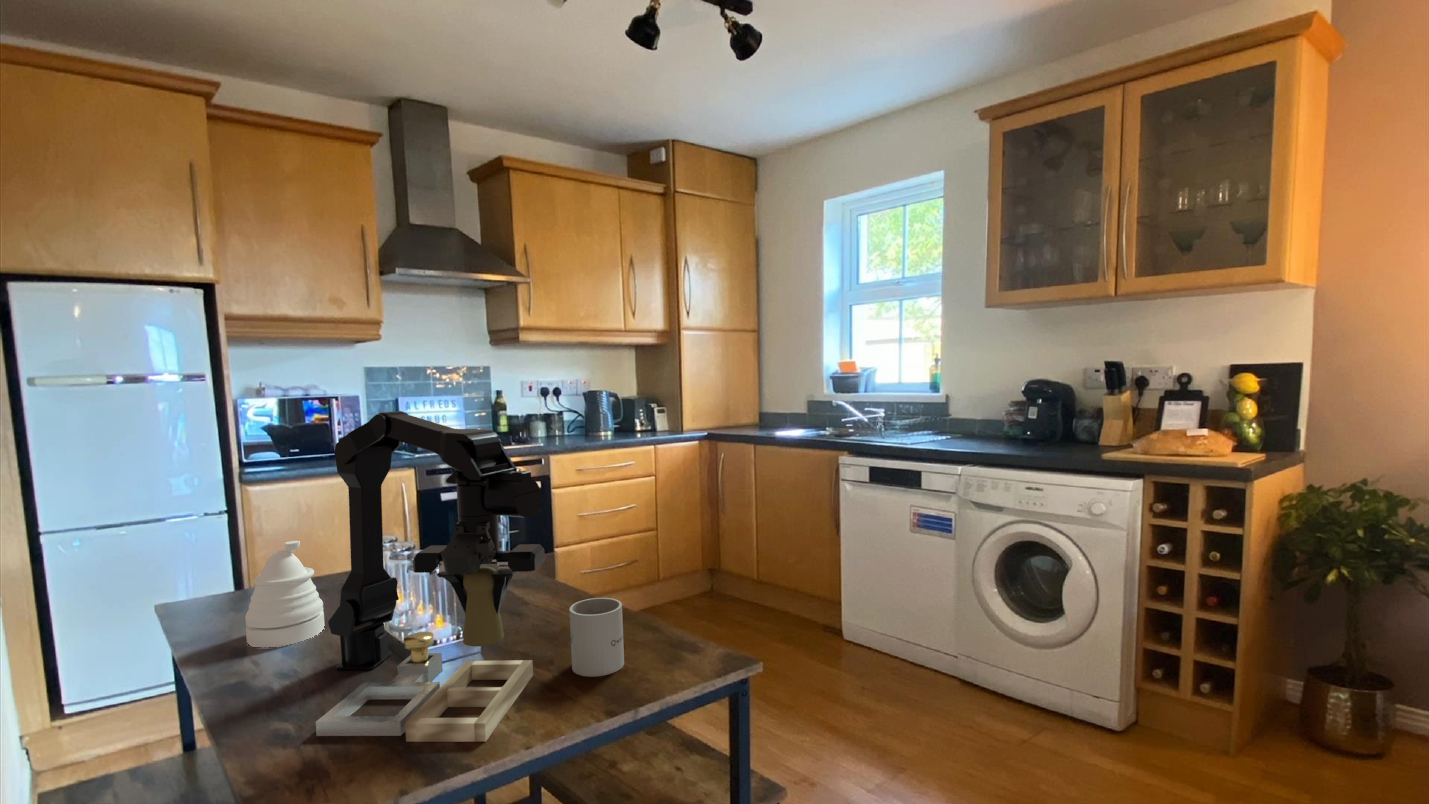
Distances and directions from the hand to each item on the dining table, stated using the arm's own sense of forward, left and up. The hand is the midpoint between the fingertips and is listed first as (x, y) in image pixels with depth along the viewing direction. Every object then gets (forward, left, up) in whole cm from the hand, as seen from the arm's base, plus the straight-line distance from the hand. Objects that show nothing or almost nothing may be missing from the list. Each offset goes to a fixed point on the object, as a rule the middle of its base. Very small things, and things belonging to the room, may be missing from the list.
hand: (482, 613), depth 107 cm
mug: (+16, +11, -13) cm, 23 cm away
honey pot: (-49, +24, -13) cm, 56 cm away
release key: (-13, +5, -12) cm, 18 cm away
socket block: (-13, -3, -12) cm, 18 cm away
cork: (0, 0, -4) cm, 4 cm away
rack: (0, -5, -12) cm, 13 cm away
